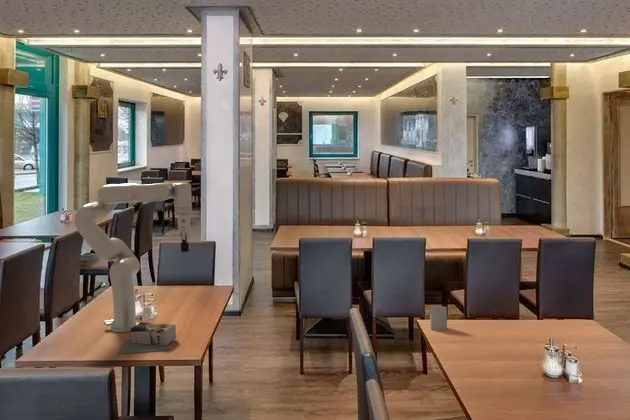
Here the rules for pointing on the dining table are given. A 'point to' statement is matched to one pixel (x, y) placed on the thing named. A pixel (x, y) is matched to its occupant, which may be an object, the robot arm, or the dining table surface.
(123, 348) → the mat
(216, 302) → the dining table surface
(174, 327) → the coffee box
